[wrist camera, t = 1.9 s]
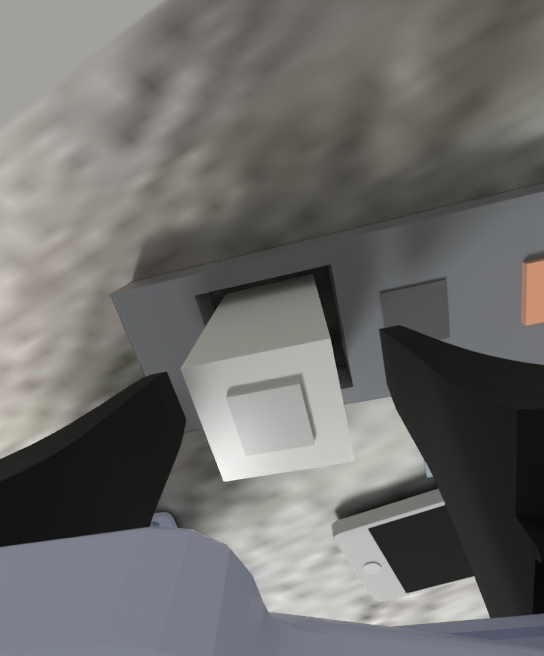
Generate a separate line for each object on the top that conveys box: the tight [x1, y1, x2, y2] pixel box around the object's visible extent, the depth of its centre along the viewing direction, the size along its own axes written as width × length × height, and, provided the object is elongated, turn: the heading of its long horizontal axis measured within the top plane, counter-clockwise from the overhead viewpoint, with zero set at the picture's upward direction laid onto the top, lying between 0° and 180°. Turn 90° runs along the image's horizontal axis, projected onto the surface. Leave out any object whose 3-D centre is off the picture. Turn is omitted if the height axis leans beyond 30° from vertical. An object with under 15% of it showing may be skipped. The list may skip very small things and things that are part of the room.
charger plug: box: [180, 274, 355, 482], centre depth 13 cm, size 4×4×7 cm
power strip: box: [110, 183, 544, 433], centre depth 15 cm, size 18×7×2 cm, turn 104°
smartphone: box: [332, 489, 475, 601], centre depth 19 cm, size 7×16×1 cm, turn 117°
